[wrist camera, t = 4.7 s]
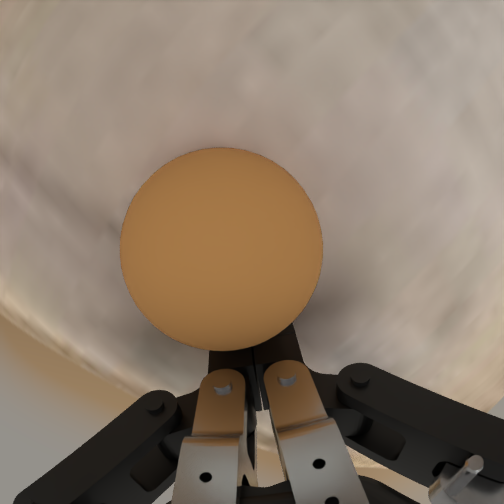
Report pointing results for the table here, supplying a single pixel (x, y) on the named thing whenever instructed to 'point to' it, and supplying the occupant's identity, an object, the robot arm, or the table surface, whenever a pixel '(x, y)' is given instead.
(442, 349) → the table surface
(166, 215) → the ball
